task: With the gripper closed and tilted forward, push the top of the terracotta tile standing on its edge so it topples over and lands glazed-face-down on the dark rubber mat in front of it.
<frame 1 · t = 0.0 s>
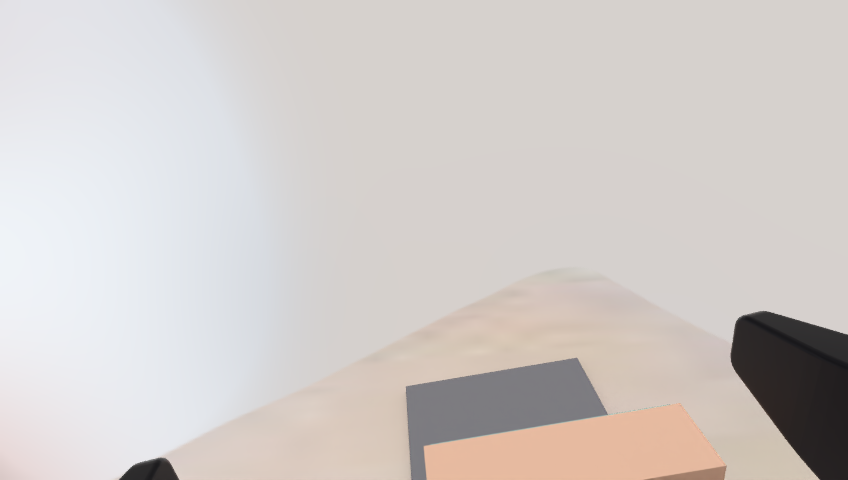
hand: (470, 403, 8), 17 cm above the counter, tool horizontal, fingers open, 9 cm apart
mat: (516, 461, 26), on the counter
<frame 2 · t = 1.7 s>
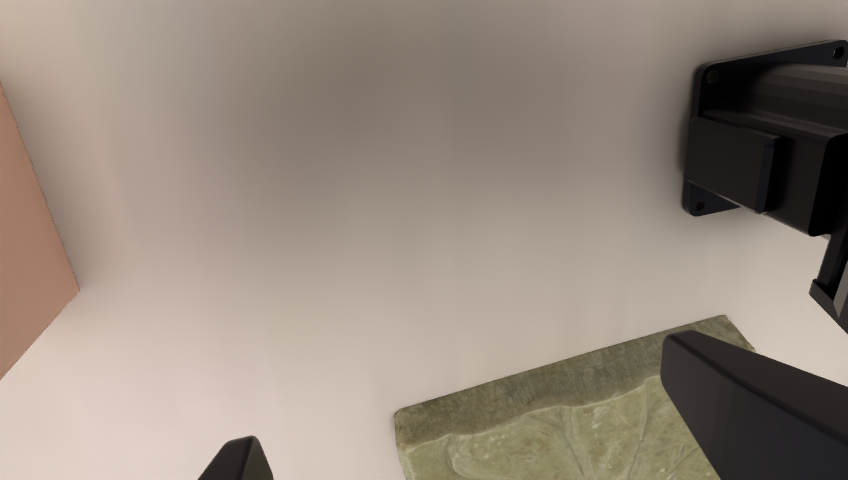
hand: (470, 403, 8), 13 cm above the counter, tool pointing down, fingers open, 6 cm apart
tile: (3, 195, 17), on the counter
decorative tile: (577, 477, 30), on the counter
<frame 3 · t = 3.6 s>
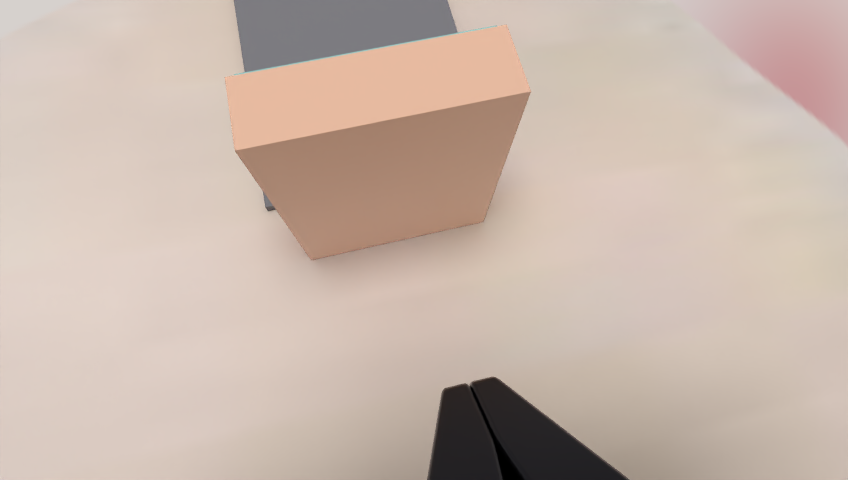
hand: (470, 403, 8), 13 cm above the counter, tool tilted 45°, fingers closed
tile: (392, 215, 23), on the counter
mat: (357, 72, 25), on the counter
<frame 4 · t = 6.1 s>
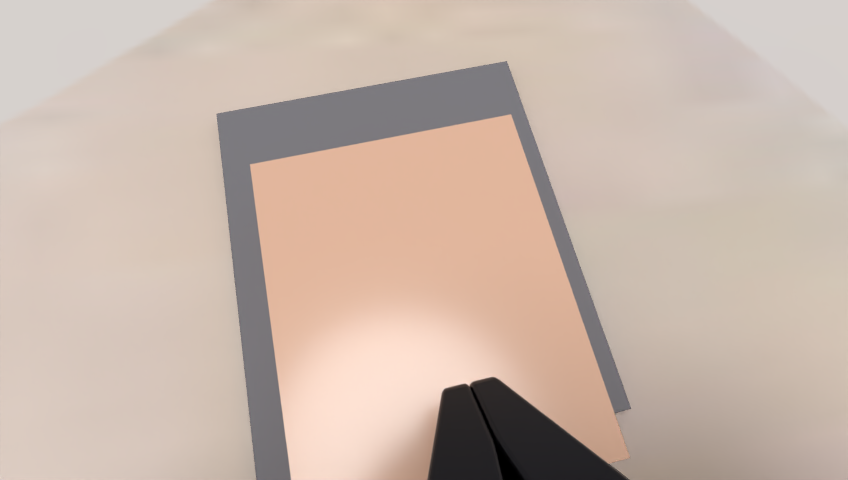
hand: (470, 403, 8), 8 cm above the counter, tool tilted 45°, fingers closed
mat: (403, 250, 17), on the counter
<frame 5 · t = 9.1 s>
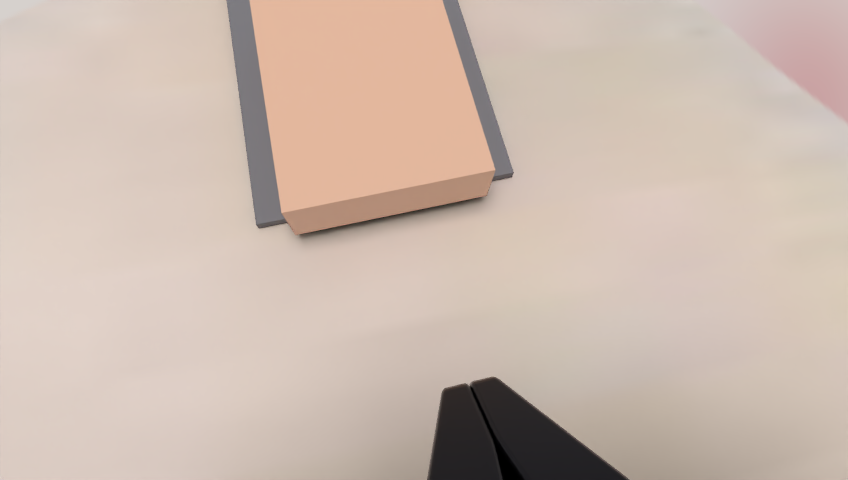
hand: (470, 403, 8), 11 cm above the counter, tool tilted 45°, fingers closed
tile: (392, 204, 19), point 2 cm above the counter, tilted 90°, touching mat
mat: (360, 77, 23), on the counter
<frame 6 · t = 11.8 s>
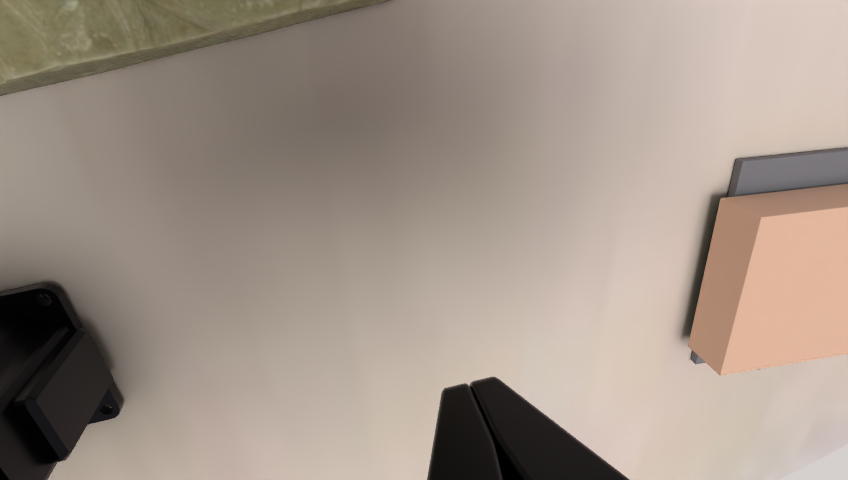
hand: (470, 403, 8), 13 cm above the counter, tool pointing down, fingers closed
tile: (718, 288, 23), point 2 cm above the counter, tilted 90°, touching mat
mat: (826, 253, 25), on the counter
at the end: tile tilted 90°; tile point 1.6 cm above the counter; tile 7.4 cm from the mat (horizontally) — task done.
